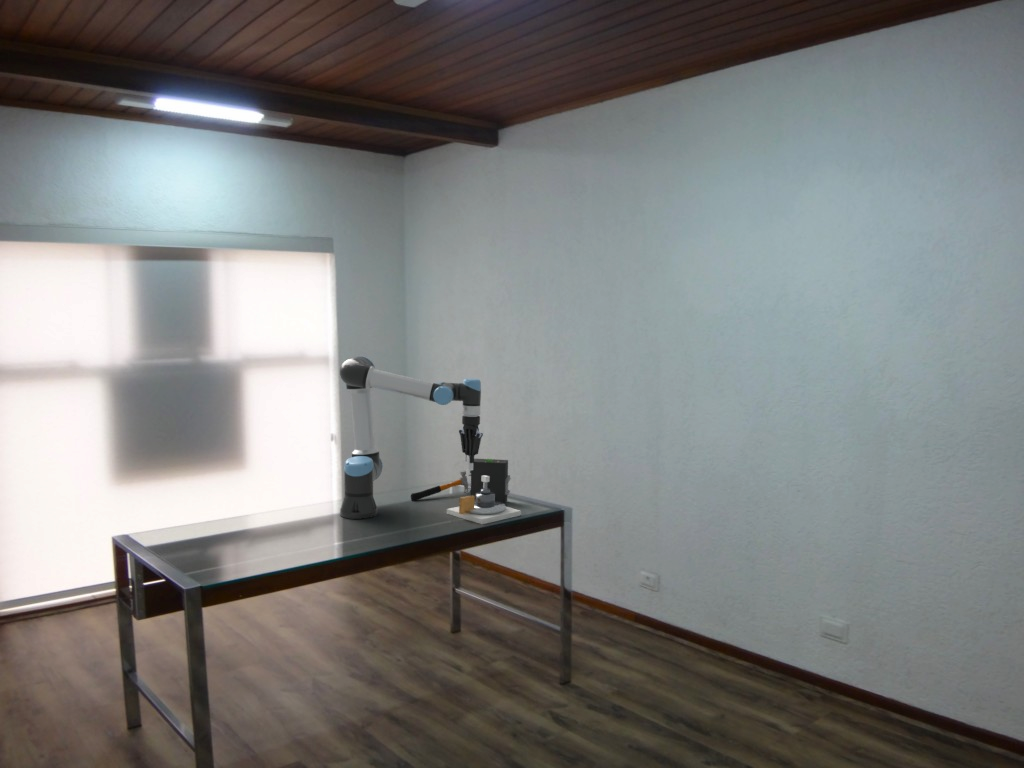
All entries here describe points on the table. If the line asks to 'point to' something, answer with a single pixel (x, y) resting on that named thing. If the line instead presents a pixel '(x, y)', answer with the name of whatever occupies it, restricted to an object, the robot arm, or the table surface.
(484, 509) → the turntable
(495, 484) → the router
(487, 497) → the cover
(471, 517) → the turntable base
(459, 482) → the hammer
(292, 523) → the table surface
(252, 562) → the table surface
